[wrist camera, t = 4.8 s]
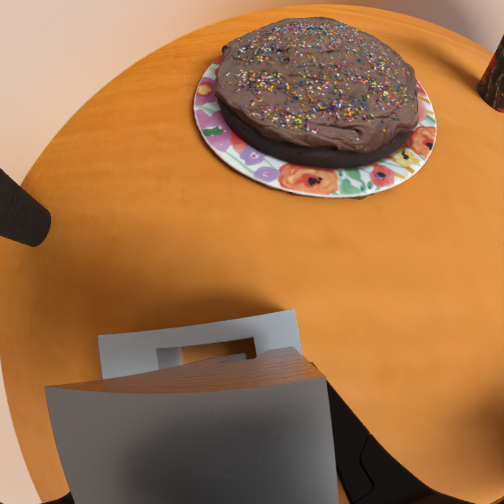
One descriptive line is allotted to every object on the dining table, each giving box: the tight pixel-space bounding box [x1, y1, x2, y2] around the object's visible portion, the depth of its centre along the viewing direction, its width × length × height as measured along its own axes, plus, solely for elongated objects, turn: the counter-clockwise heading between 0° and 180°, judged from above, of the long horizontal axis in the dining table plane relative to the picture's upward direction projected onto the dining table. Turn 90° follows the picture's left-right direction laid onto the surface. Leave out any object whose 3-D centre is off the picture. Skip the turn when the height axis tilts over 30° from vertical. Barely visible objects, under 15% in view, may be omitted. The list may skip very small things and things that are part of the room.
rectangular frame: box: [98, 309, 303, 379], centre depth 19 cm, size 9×14×5 cm, turn 99°
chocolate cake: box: [193, 17, 437, 200], centre depth 26 cm, size 28×28×7 cm
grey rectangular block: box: [44, 346, 339, 504], centre depth 9 cm, size 4×4×13 cm
